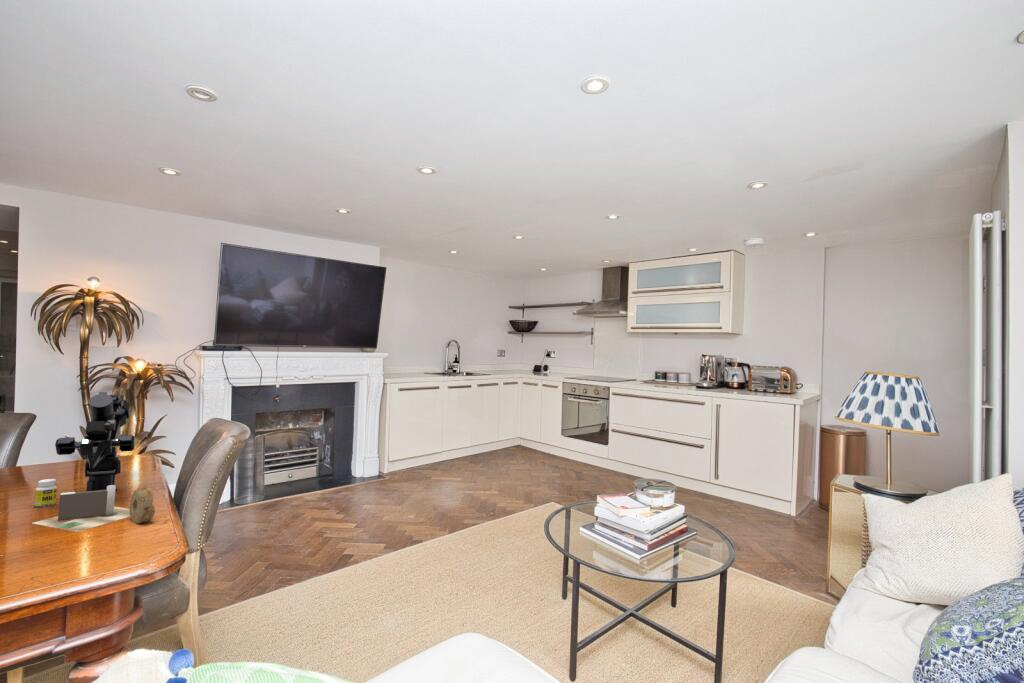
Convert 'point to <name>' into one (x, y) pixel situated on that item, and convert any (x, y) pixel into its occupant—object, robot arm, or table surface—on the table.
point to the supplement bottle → (45, 493)
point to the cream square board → (85, 521)
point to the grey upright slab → (86, 503)
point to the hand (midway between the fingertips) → (91, 467)
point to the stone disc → (142, 505)
